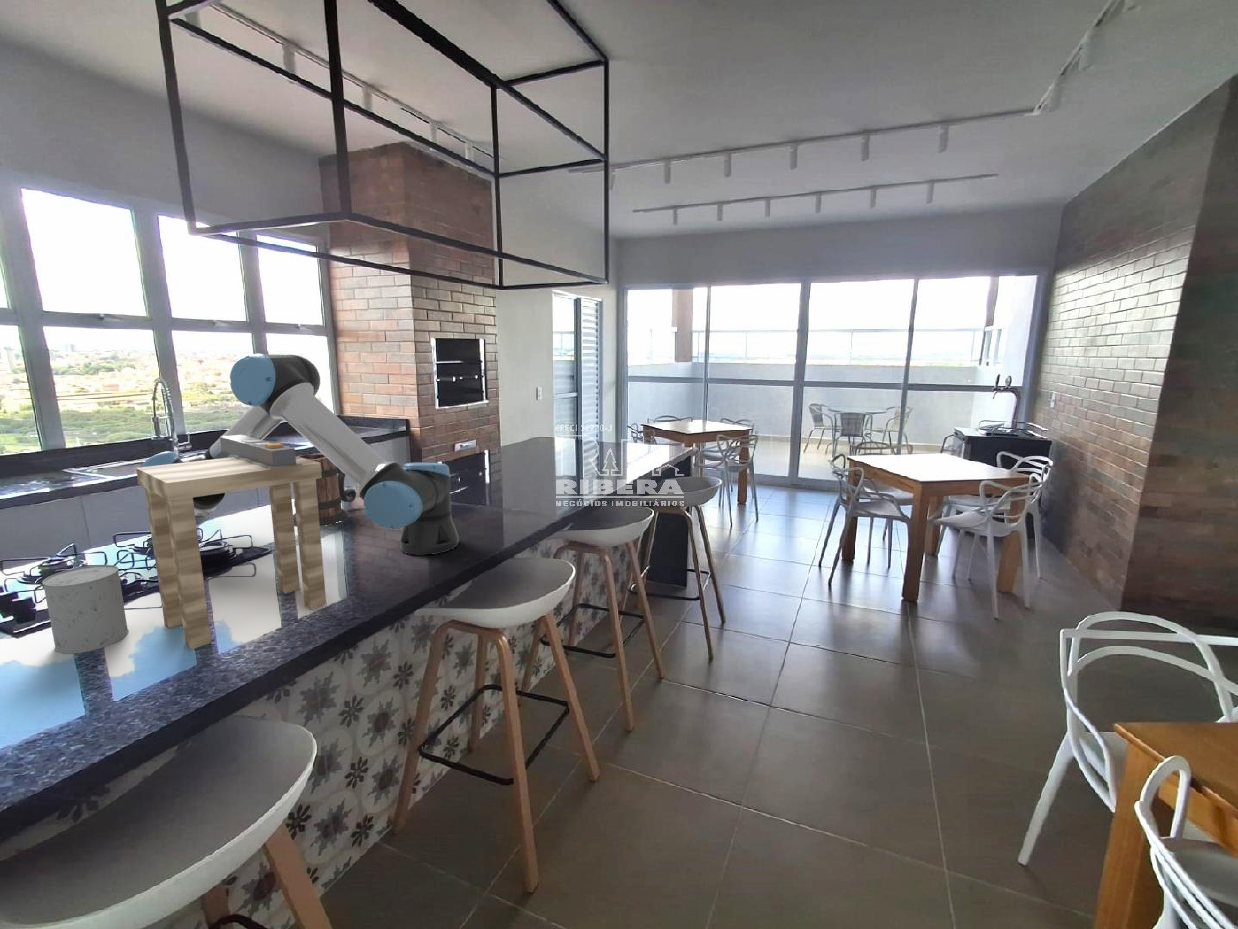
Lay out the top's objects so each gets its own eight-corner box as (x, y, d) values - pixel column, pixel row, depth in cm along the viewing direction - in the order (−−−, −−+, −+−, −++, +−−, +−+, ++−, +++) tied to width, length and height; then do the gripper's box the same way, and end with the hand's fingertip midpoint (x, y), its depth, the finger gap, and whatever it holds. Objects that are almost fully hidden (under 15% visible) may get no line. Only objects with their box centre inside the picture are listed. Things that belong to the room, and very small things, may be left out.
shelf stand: (158, 622, 105) (135, 466, 99) (293, 583, 123) (280, 451, 118) (190, 653, 94) (166, 481, 88) (332, 606, 113) (320, 461, 107)
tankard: (320, 529, 161) (315, 462, 157) (274, 524, 166) (268, 458, 162) (375, 509, 183) (371, 450, 180) (333, 504, 188) (329, 447, 184)
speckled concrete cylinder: (55, 639, 98) (42, 573, 95) (126, 622, 104) (116, 560, 102) (54, 660, 91) (41, 591, 89) (130, 640, 98) (120, 575, 95)
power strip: (221, 450, 117) (219, 433, 116) (242, 448, 120) (241, 432, 119) (273, 466, 101) (271, 447, 101) (296, 463, 105) (294, 445, 104)
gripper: (264, 500, 144) (291, 470, 131) (141, 521, 124) (159, 488, 111) (256, 474, 145) (282, 441, 132) (133, 490, 125) (149, 454, 112)
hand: (226, 462), depth 121 cm, fingers open, 13 cm apart
